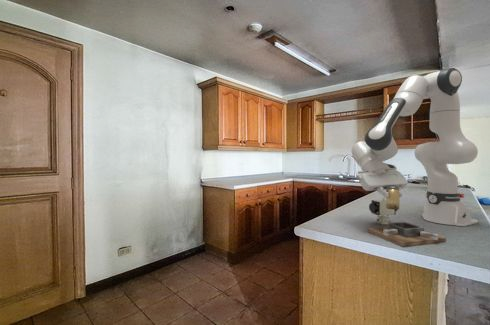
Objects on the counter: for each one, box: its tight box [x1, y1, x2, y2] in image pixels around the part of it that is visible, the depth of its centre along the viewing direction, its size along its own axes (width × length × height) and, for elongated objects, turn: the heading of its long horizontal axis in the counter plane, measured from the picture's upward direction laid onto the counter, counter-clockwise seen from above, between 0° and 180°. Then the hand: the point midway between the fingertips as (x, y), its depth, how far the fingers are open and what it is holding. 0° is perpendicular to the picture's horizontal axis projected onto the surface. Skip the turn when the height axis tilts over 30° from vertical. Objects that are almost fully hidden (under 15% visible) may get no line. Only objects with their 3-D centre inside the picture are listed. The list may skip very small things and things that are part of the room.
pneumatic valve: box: [368, 197, 398, 226], centre depth 109 cm, size 6×12×12 cm, turn 98°
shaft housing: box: [368, 221, 447, 248], centre depth 91 cm, size 20×17×4 cm
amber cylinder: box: [385, 186, 400, 211], centre depth 94 cm, size 4×4×9 cm
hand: (394, 196), depth 93 cm, fingers closed on amber cylinder, 4 cm apart
